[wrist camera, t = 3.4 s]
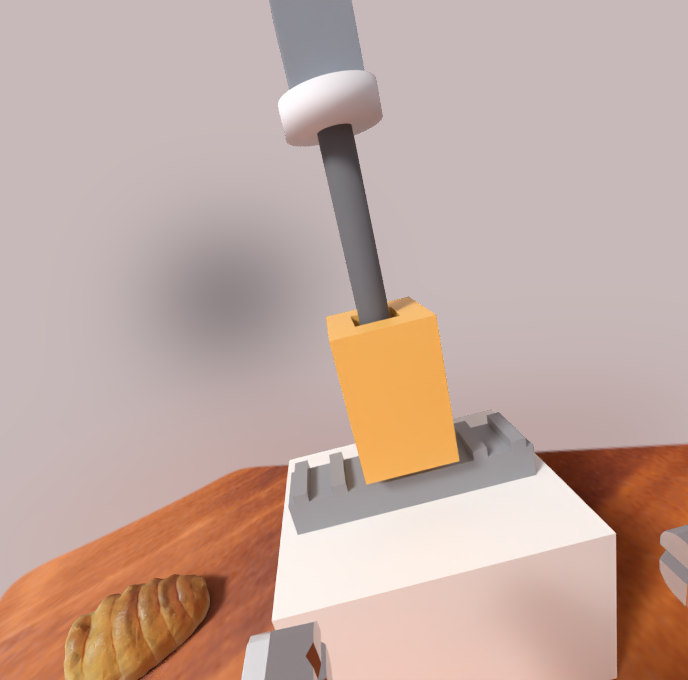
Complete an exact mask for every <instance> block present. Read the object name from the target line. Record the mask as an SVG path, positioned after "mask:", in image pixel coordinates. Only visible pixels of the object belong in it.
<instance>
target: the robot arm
mask: <svg viewBox="0 0 688 680" xmlns="http://www.w3.org/2000/svg"><path fill="white" fill-rule="evenodd" d="M660 544H661V545H662V546H663V547H664V548H665V549H666V551H665V552H664V553H663V555H662V556H661V558H660V572H661V574H662V576H663V578H664V580H665V582H666V584H667V586H668V587H669V588H670V590H671V591H672V592H673V594H674V595H675V596H676V597H677V598H678V599H679V600H680V601H681V602H682V603H683V604H684V605H685V606H686V607H688V525H685V526H681V527H678V528H674V529H670V530H667V531H664V532H663V533H662V534H661V538H660ZM241 680H333V678H332V670H331V662H330V658H329V654H328V650H327V647H326V644H324V643H323V642H321V630H320V628H319V625H318V623H317V621H313V622H309V623H305V624H300V625H296V626H292V627H287V628H283V629H279V630H275V631H270V632H266V633H262V634H258V635H254V636H251V637H250V640H249V642H248V645H247V649H246V655H245V661H244V667H243V673H242V679H241Z"/></svg>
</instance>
